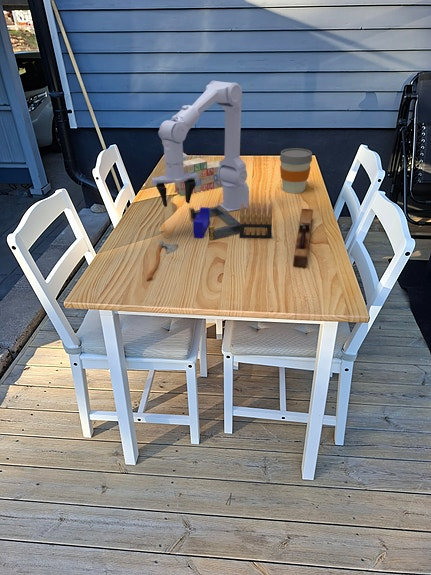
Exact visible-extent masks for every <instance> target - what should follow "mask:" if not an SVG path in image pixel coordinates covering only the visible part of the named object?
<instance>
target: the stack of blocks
mask: <svg viewBox="0 0 431 575" xmlns="http://www.w3.org/2000/svg"><path fill="white" fill-rule="evenodd" d="M220 161H221V160H215V161H212V162H208V161H207V160H205V159H203V158H200V157H196V158H192V159H188V160H187V161H183V163H184V173H197V174H198V180H195V182H196V186H195V187H194V189H193V192H192V194H191V195H194V194H193V193H195V194H198V193H197V192H199V193H202V192H201V191H203V192H206V191H205V190H207V191H210V190H209V189H211V190H214V189H218V188H223V184H221V180H219V178H218V169H219V162H220ZM174 192H175V193H176V192H177V193H176V194H177V195H179V194H180V196H181V197H182V196H183V197H185V184H184V181H182V182H174Z"/></svg>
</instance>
